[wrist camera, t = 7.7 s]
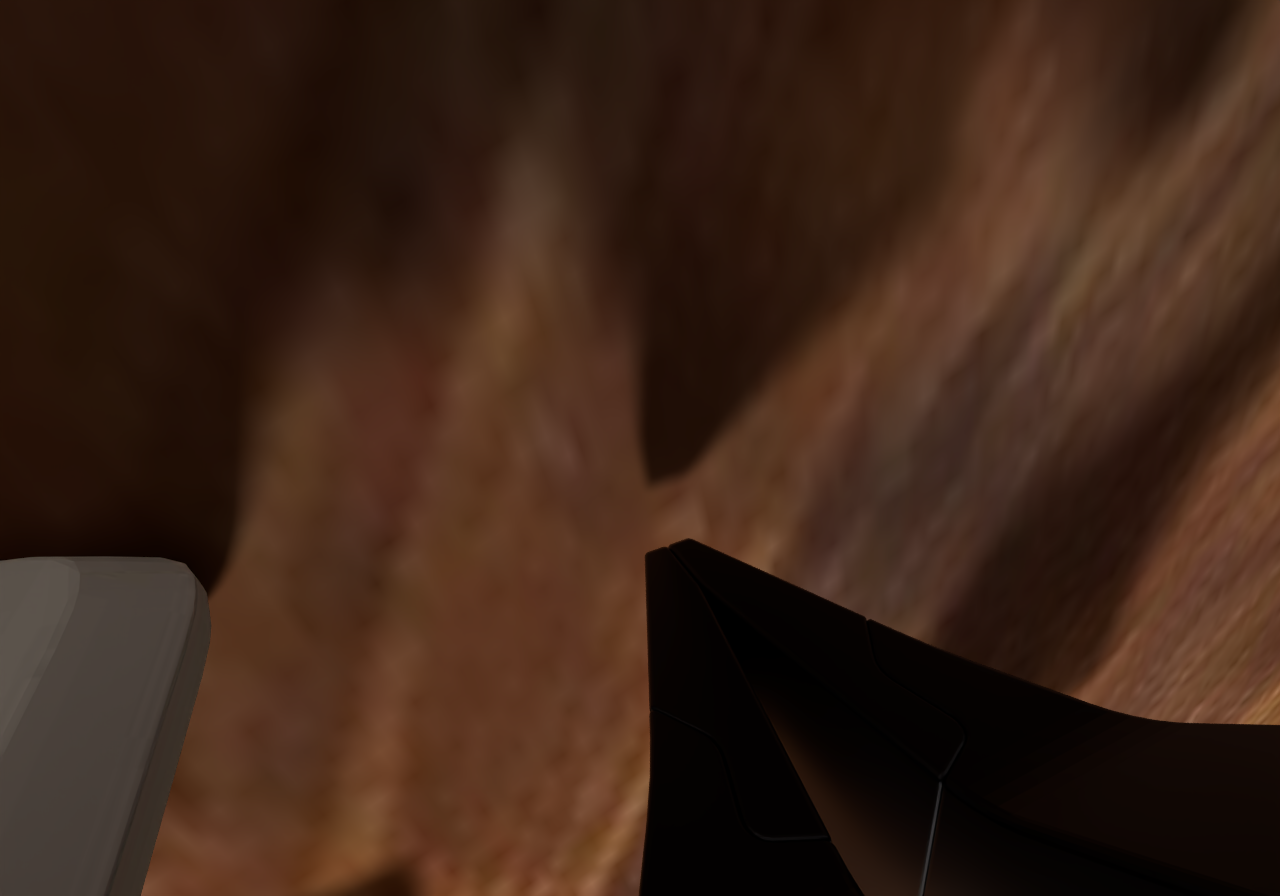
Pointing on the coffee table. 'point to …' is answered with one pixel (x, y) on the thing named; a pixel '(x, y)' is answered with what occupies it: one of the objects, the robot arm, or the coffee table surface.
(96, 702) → the digital clock
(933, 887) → the robot arm
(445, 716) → the coffee table surface
